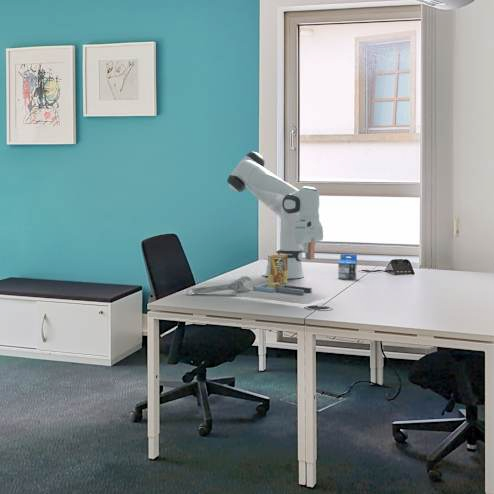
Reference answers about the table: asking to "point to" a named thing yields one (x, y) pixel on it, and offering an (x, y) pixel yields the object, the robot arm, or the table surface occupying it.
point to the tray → (263, 288)
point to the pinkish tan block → (310, 250)
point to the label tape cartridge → (347, 266)
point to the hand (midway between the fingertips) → (309, 252)
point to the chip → (273, 285)
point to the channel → (294, 290)
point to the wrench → (224, 286)
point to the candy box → (277, 268)
